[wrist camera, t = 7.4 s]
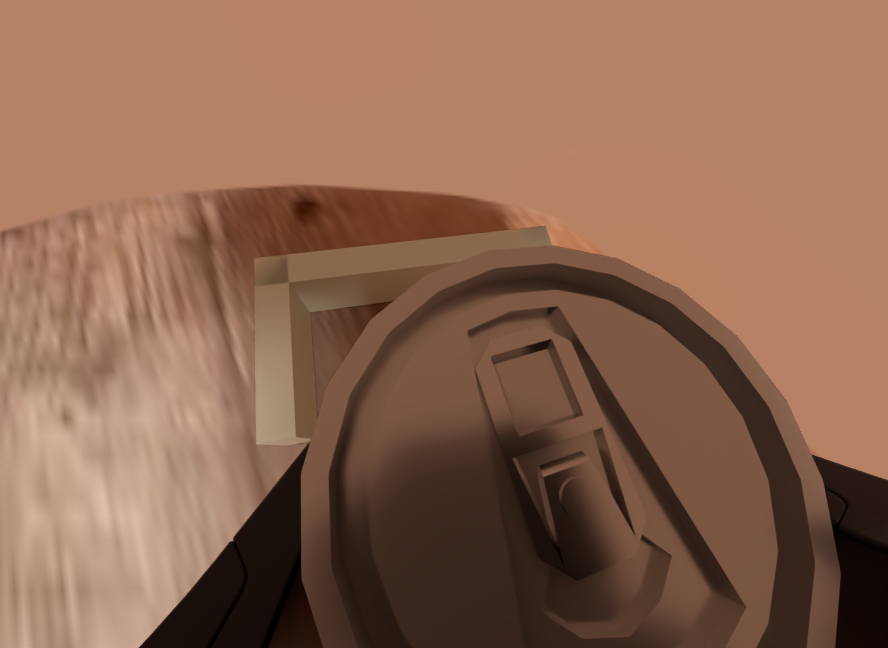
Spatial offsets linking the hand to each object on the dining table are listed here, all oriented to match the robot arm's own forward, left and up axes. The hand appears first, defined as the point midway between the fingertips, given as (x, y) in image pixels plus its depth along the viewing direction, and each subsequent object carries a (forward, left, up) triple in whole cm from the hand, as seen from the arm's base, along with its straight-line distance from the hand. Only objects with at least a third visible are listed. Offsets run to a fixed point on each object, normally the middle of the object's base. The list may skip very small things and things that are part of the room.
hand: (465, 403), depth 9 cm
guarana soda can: (0, -1, -7) cm, 7 cm away
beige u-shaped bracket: (-1, +4, -11) cm, 12 cm away
